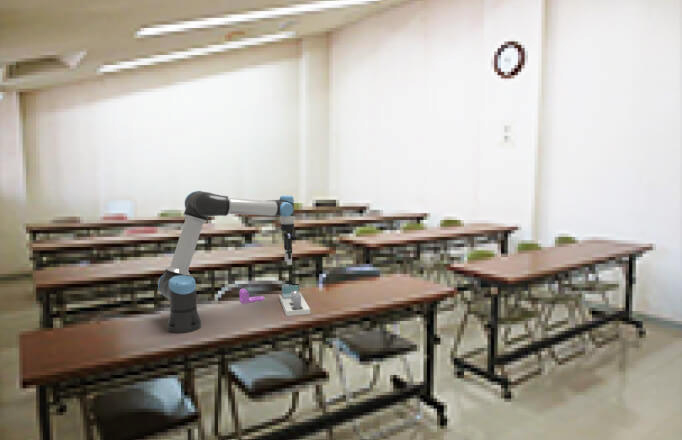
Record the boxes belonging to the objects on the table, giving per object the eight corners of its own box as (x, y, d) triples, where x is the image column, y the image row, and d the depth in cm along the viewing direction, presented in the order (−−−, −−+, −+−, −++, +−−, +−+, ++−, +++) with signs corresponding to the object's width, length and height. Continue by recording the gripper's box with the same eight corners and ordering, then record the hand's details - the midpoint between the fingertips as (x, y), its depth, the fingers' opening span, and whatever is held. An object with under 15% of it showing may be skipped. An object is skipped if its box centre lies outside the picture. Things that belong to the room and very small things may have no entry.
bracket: (242, 304, 254) (242, 291, 253) (239, 301, 259) (239, 289, 258) (265, 300, 260) (265, 288, 259) (262, 298, 265) (262, 286, 264)
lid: (283, 298, 254) (283, 289, 253) (282, 294, 261) (281, 286, 260) (300, 297, 256) (300, 288, 256) (298, 293, 263) (298, 285, 262)
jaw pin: (290, 307, 247) (290, 290, 246) (298, 307, 248) (298, 290, 247) (291, 309, 243) (291, 292, 242) (299, 309, 244) (299, 292, 243)
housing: (286, 316, 233) (286, 298, 232) (279, 299, 262) (278, 283, 261) (310, 314, 236) (309, 296, 235) (300, 297, 265) (300, 281, 264)
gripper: (297, 225, 253) (297, 266, 256) (291, 220, 273) (292, 258, 276) (283, 226, 251) (284, 267, 254) (278, 221, 272) (279, 259, 274)
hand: (288, 262), depth 265 cm, fingers open, 9 cm apart
